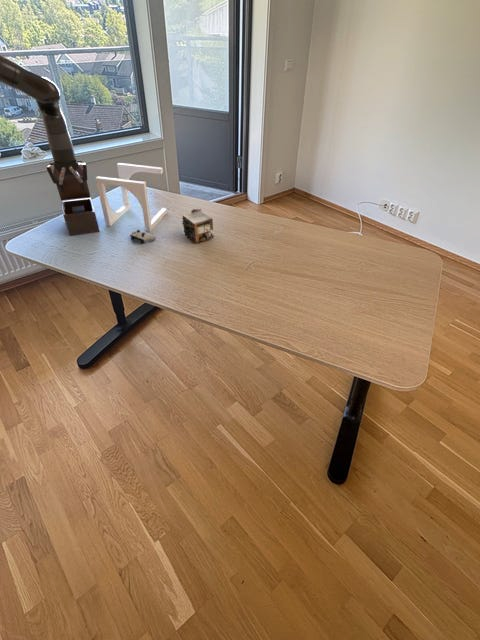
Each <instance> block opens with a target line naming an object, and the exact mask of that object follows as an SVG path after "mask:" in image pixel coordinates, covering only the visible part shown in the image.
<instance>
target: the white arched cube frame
mask: <svg viewBox="0 0 480 640" xmlns="http://www.w3.org/2000/svg"><path fill="white" fill-rule="evenodd" d="M116 167H117V174H118V178H116V177H109V176H108V177H107V176H99V175H98V176H96V177H94V179H95V183H96V187H97V192H98V196H99V200H100V204H101V210H102V214H103V218H104V223H105V226H107V227H111V226H112V225H114V224H115V223H116V222H117V221H118V220H119V219H120V218H121V217H122V216H124V215H125V214H126V213H127V212H128V211H130V209H131V208H132V207H131V202H130V196H129V193H131V194H132V195H133V196H134V197H135V198H136V199H137V202H138V203H139V204H140V208H141V211H142V214H143V215H142V216H143V223H144V229H145V232H150V233H151V232H152V230H153V229H154V228H155V227H157V225H158V224H159V222H160V221H162V220H163V218H164V217H165V215H166V214H167V213H168V209H167V208H166V207H162V208H161V209H160V210H159V211H158V212H157V213H156V214H155V215H154V216H153V218H151V211H150V204H149V197H148V196H149V195H148V188H147V182H146V181H141V180H132V179H130V178H131V177H132V176H133V175H134V174H136V173H150V174H157V175H162V174H163V173H164V167H159V166H151V165H143V164H132V163H126V162H125V163H124V162H117V164H116ZM106 185H108V186H109V185H110V186H117V187H120V189H121V195H122V202H123V205H122V206H121V207H120V208H118V210H116V211H115V210H114V209H113V208H112V206H111V205H110V203H109V200H108V196H107V191H106Z"/></svg>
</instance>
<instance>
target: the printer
mask: <svg viewBox="0 0 480 640" xmlns="http://www.w3.org/2000/svg"><path fill="white" fill-rule="evenodd" d="M181 219H182V221H181V224H182V226H183V234H184V236H187V237H186V238H188V239H190V240H191V241H193V242H194V243H200V242H203V241H206V240H210V239H213V238H214V236H215V235H214V234H213V233H212V232H211V231H214V222H213V218H212V217H210V216H209V215H207V214H205V213H204V212H203V211H202V209H201V208H196V209H192V210H191V213H187V214H183V215H182V218H181Z"/></svg>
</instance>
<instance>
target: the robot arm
mask: <svg viewBox="0 0 480 640" xmlns="http://www.w3.org/2000/svg"><path fill="white" fill-rule="evenodd" d="M0 83H1V84H3V85H5V86H8V87H10V88H11V89H14V90H16V91H19V92H21V93H24V94H25V95H26V96H29V97H31V98H32V99H34V100H35V101H36V104H37V106H38V109H39V111H40V115H41V118H42V122H43V125H44V129H45V133H46V139H47V143H48V146H49V149H50V153H51V157H52V159H53V162H54V165H52V166H50V164H48V165H46V171H47V173H48V175H49V177H50V179H51V181H52V183H53V184H54V185H56V184H59V185H60V188H61V192H62V193H64V194H66V191H65V187H64V184H63V178H64V176H68V175H71V176H72V175H75V177H76V178H77V179H78V180H79V183H80V187H81V191H82V192H83V191H85V188H84V184H83V182H84V181H87V182H88V168H87V163H86V162H82V163H78V162H77V161H76V160H77V158H76V154H75V150H74V147H73V146H74V145H73V142H72V138H71V136H70V133H69V130H68V126H67V121H66V118H65V116H64V114H63V112H62V110H61V106H60V100H61V93H60V89H59V88H58V86H57V85H56V84H55V82H53V81H51V80H50V79H49V78H48V77H44V76H41V75H38V74H36V73H35V72H32V71H31V70H28V69H27V68H25V67H23V66H22V65H21V64H19V63H17V62H15V61H13V60H12V59H9V58H7V57H5V56H3V55H1V54H0ZM78 167H81V169H82V170H83V177H81V176H80V175H79V174H78V172H77V169H78ZM54 168H55V169H56V170H57V171H58V172H60V174H59V180H58V179H56V178H55V176H54V174H53V172H54Z"/></svg>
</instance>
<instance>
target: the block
mask: <svg viewBox="0 0 480 640" xmlns="http://www.w3.org/2000/svg"><path fill="white" fill-rule="evenodd" d="M72 210H73V213H81V212H85V210H84V206H76V207H72Z"/></svg>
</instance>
